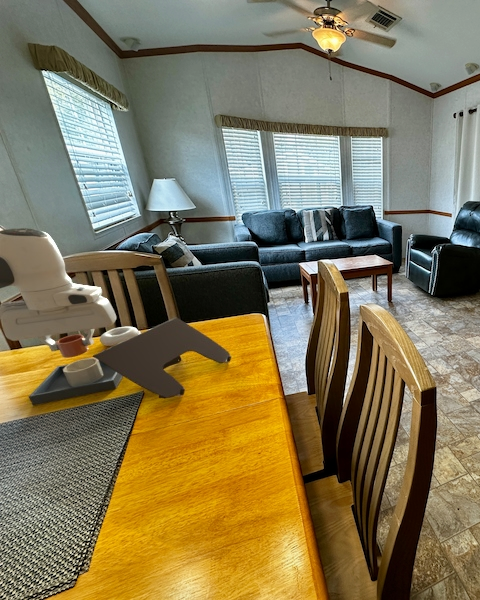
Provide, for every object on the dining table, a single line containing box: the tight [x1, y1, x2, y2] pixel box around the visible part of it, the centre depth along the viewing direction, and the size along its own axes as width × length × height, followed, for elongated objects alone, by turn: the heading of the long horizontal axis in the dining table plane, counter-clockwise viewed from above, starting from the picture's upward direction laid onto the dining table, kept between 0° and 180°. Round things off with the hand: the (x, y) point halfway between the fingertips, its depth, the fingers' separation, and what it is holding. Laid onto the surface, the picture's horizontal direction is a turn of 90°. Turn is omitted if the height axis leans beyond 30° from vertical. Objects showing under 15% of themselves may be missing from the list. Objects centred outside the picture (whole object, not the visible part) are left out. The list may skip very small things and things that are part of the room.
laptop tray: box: [92, 317, 232, 399], centre depth 90 cm, size 23×23×9 cm
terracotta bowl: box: [55, 333, 90, 359], centre depth 83 cm, size 5×5×4 cm
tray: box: [28, 360, 124, 406], centre depth 87 cm, size 16×14×3 cm
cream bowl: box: [63, 357, 104, 387], centre depth 86 cm, size 7×7×4 cm
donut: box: [99, 326, 140, 347], centre depth 108 cm, size 10×4×10 cm
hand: (73, 347), depth 84 cm, fingers closed on terracotta bowl, 5 cm apart
